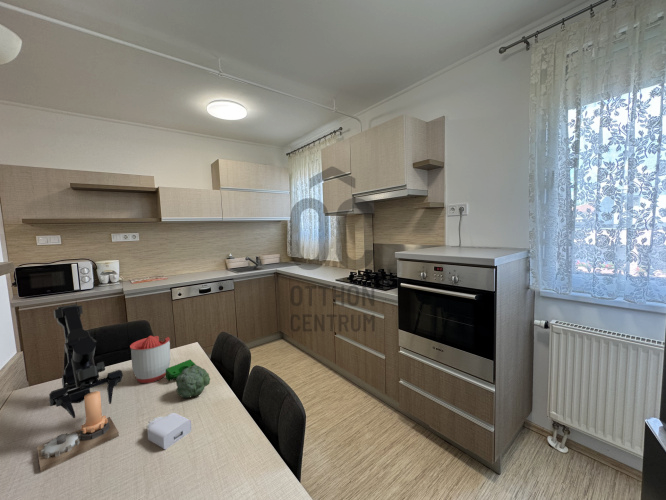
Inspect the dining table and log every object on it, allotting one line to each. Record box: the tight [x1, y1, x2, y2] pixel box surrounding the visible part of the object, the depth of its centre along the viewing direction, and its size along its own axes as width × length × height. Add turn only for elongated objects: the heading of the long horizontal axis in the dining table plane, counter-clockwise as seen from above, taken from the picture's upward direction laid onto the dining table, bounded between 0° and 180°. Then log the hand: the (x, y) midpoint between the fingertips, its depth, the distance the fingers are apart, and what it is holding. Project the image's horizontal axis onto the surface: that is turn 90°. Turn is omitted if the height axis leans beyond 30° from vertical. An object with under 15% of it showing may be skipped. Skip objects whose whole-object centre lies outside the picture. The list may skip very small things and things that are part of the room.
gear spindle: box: [80, 390, 108, 434], centre depth 92 cm, size 7×7×13 cm
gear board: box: [36, 416, 120, 473], centre depth 89 cm, size 18×12×5 cm, turn 140°
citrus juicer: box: [129, 335, 171, 384], centre depth 131 cm, size 16×17×20 cm
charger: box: [146, 412, 192, 450], centre depth 93 cm, size 5×9×15 cm
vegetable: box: [175, 364, 211, 399], centre depth 117 cm, size 12×13×15 cm
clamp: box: [165, 359, 197, 382], centre depth 130 cm, size 12×6×9 cm, turn 139°
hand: (93, 410), depth 92 cm, fingers open, 9 cm apart
